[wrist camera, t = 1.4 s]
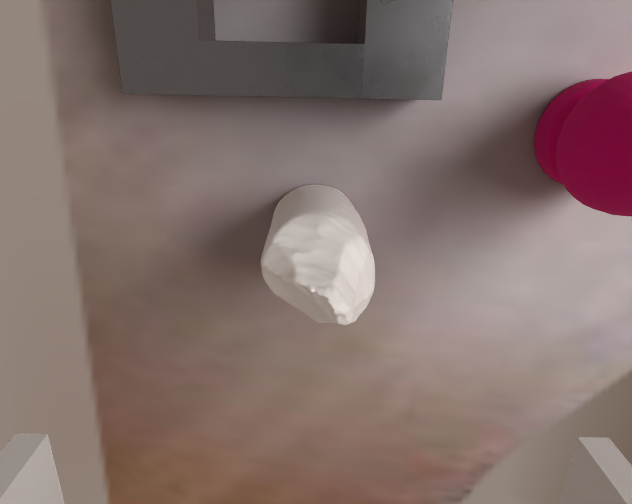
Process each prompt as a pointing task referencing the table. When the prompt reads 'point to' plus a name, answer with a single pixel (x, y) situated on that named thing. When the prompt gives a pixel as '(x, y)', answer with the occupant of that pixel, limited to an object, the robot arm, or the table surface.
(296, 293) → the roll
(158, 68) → the hole plate
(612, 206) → the pepper mill
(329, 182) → the table surface
